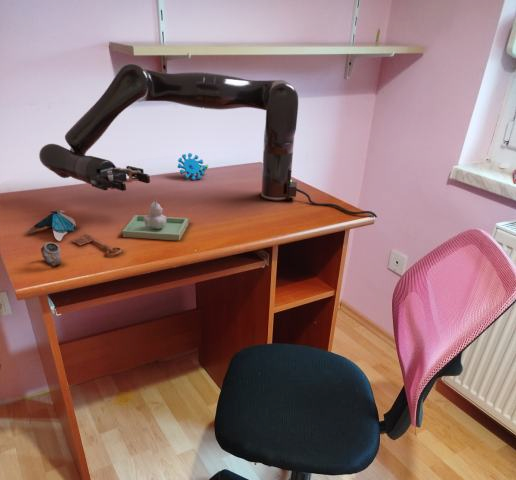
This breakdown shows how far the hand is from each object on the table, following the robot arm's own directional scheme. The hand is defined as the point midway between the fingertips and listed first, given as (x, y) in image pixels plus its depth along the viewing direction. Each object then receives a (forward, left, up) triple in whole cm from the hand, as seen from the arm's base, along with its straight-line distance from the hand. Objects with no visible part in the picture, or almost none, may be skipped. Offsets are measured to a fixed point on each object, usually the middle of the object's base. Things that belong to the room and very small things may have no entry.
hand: (137, 182), depth 127 cm
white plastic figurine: (-5, +3, -11) cm, 13 cm away
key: (+6, +17, -12) cm, 21 cm away
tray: (-5, +3, -11) cm, 13 cm away
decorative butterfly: (+20, +9, -12) cm, 25 cm away
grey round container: (+13, +27, -12) cm, 32 cm away
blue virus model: (-6, -46, -12) cm, 48 cm away
